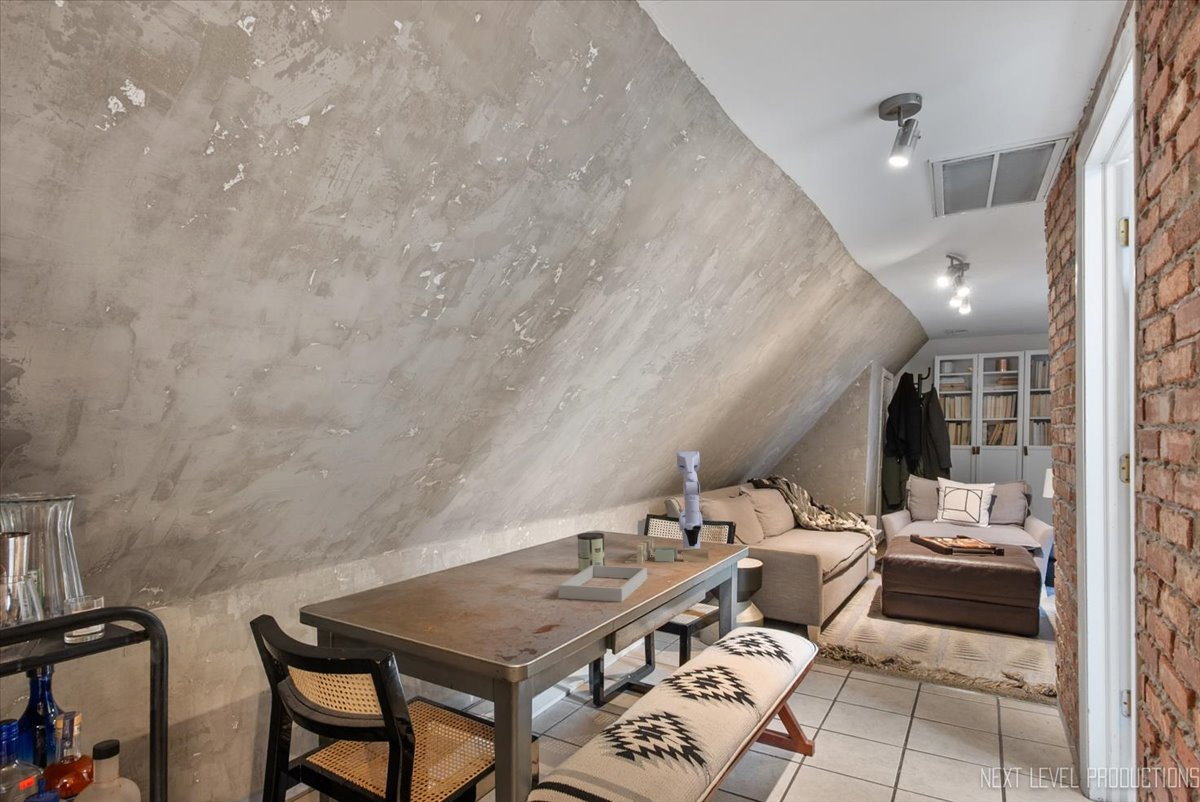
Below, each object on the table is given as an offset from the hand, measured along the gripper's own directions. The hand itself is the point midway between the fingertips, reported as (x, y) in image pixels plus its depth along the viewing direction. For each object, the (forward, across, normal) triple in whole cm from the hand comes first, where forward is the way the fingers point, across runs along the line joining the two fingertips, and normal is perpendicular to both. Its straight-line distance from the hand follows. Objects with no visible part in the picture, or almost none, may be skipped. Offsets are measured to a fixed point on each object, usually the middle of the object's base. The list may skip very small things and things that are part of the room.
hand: (693, 545), depth 255 cm
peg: (+7, 0, -1) cm, 7 cm away
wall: (+6, 0, +22) cm, 23 cm away
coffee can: (+7, -28, +34) cm, 44 cm away
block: (+6, 0, +11) cm, 13 cm away
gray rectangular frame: (+6, -51, +21) cm, 55 cm away
